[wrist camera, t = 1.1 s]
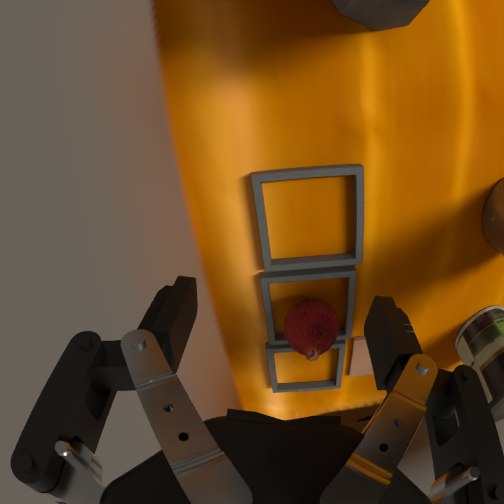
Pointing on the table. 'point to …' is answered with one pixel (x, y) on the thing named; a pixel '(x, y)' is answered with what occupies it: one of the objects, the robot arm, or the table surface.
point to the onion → (311, 328)
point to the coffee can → (486, 354)
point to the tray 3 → (304, 385)
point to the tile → (360, 358)
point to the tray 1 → (308, 173)
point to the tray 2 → (308, 275)
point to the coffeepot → (380, 12)
